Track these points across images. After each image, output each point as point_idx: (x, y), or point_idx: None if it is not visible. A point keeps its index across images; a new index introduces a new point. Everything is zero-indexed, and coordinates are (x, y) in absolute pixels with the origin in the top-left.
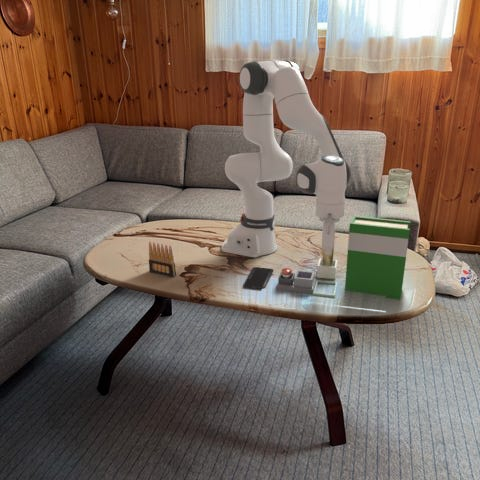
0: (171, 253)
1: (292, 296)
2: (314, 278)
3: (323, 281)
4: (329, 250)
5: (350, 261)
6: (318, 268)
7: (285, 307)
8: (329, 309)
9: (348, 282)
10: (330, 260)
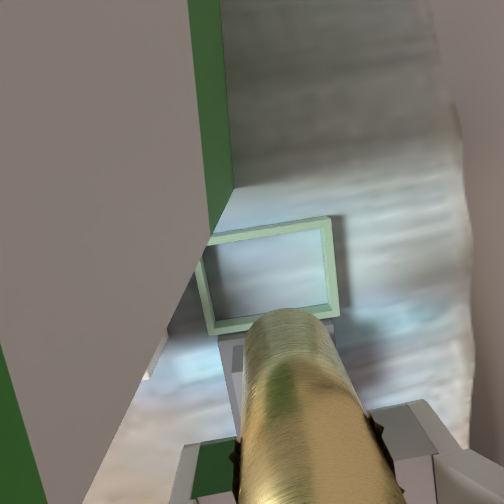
0: None
1: (364, 379)
2: (219, 349)
3: (209, 303)
4: (454, 450)
5: (220, 178)
6: (153, 365)
7: (456, 375)
8: (428, 213)
9: (230, 175)
10: (331, 345)
